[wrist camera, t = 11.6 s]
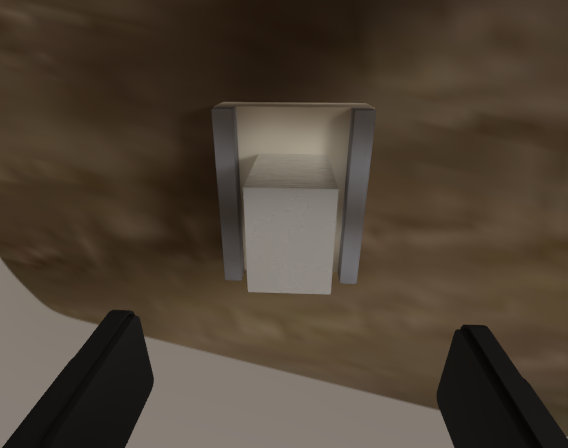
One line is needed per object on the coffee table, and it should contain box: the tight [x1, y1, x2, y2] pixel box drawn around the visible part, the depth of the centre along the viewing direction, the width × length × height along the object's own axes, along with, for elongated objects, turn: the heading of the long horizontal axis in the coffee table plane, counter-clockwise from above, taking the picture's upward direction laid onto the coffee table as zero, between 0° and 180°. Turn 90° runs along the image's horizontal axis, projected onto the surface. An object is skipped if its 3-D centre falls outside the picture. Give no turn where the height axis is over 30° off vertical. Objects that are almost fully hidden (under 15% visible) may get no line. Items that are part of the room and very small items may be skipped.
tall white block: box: [243, 153, 339, 294], centre depth 20 cm, size 6×4×7 cm
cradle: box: [211, 102, 376, 284], centre depth 24 cm, size 12×10×4 cm
